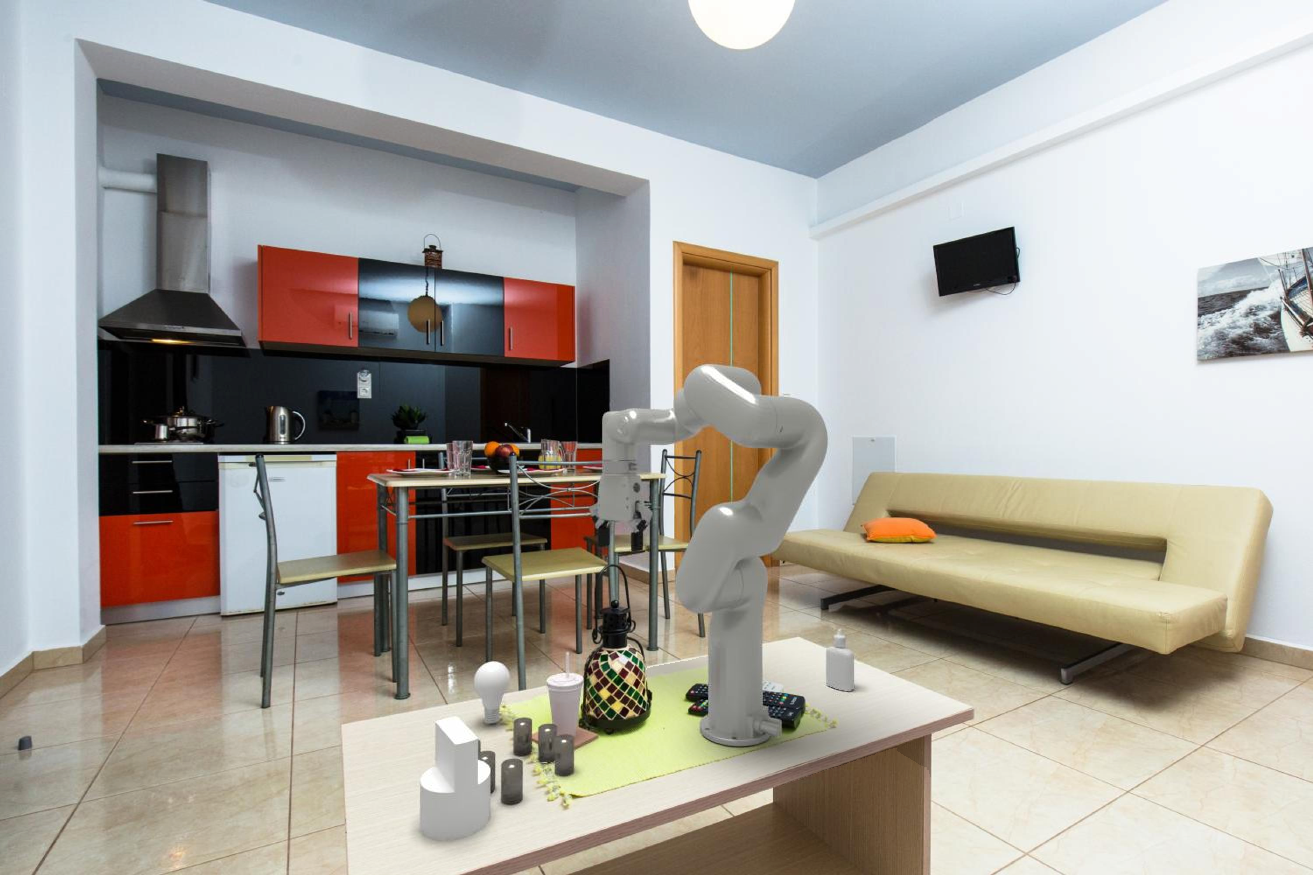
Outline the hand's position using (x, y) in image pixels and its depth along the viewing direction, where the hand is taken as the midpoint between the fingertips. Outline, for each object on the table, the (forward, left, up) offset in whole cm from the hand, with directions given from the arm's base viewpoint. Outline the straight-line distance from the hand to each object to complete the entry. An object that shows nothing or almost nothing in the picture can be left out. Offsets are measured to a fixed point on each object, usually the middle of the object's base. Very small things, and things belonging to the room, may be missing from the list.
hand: (620, 548), depth 136 cm
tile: (-11, +26, -28) cm, 40 cm away
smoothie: (-11, +26, -28) cm, 40 cm away
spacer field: (-14, +39, -28) cm, 50 cm away
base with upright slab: (-17, +51, -29) cm, 61 cm away
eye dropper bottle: (-38, -26, -28) cm, 54 cm away
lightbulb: (+4, +30, -28) cm, 42 cm away
